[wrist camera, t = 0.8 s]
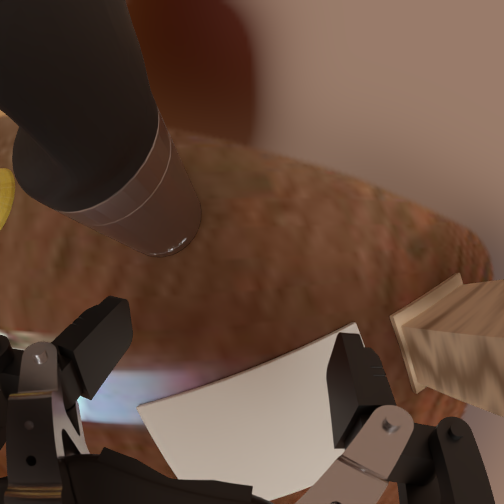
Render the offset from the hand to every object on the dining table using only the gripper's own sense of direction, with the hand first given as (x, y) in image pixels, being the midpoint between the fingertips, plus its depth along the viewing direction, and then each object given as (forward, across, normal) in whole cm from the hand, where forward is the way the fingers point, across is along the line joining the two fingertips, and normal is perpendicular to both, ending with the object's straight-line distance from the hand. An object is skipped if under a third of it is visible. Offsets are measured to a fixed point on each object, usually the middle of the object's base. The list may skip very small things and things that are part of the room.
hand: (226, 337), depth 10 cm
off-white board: (+11, -4, +22) cm, 25 cm away
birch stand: (+18, -23, +11) cm, 31 cm away
